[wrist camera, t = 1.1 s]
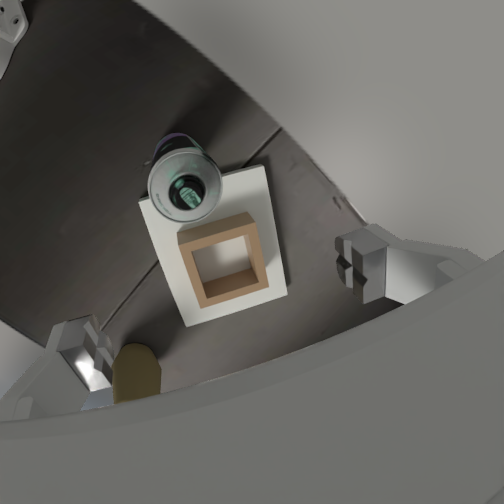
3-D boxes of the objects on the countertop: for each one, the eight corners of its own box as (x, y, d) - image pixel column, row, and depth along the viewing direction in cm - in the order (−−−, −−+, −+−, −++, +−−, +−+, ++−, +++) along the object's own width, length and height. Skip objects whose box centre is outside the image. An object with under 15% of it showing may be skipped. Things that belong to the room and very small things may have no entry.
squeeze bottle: (154, 376, 51) (162, 464, 35) (109, 366, 48) (104, 456, 32) (166, 343, 49) (176, 436, 33) (117, 331, 45) (110, 427, 30)
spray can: (163, 126, 35) (162, 142, 18) (205, 141, 37) (244, 171, 20) (148, 168, 37) (134, 224, 20) (189, 181, 39) (213, 247, 22)
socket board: (139, 198, 38) (136, 212, 33) (260, 163, 40) (274, 172, 36) (185, 321, 48) (189, 344, 43) (284, 289, 50) (297, 309, 45)
